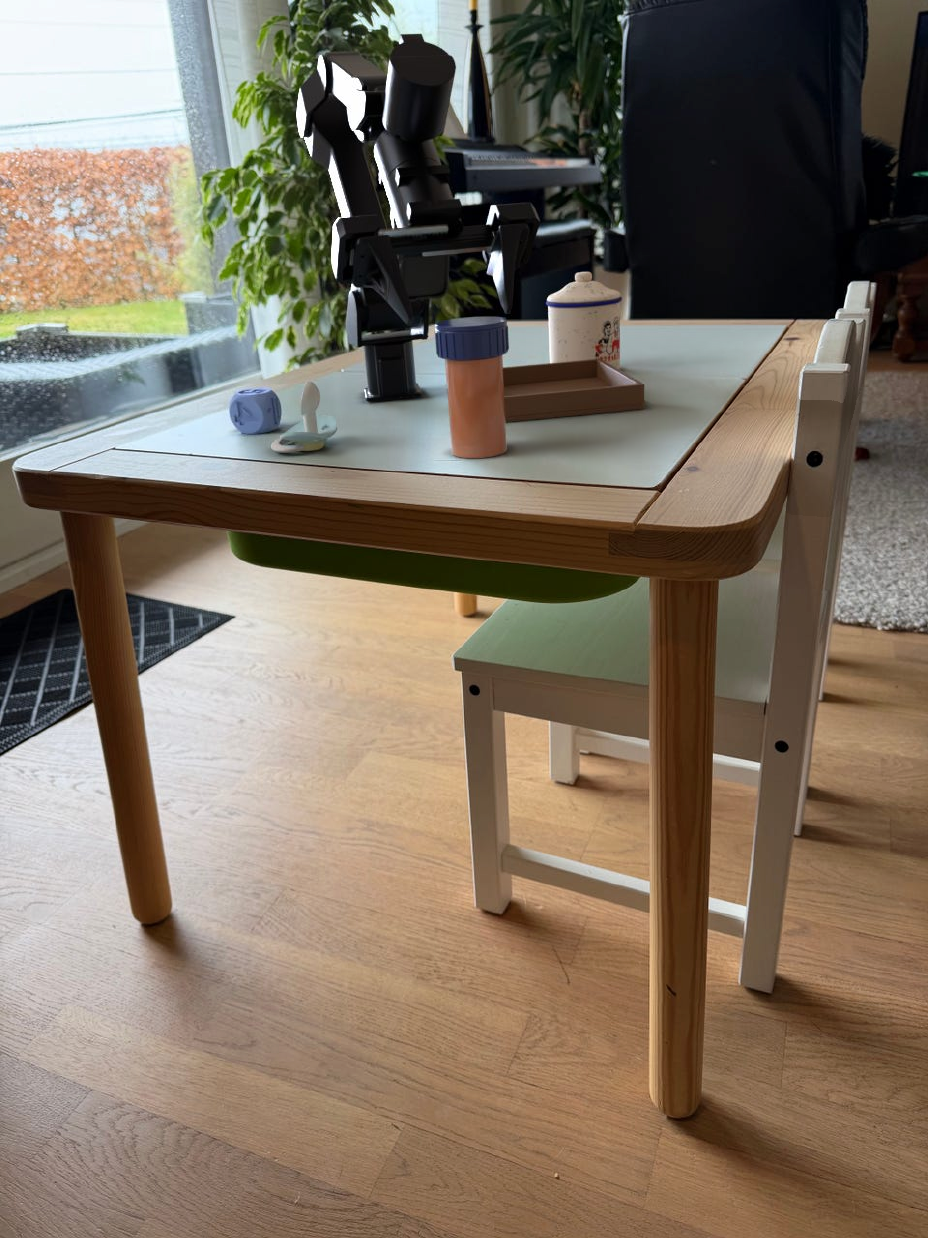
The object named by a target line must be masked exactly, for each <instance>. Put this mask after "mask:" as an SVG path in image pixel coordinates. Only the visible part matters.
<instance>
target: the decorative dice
mask: <svg viewBox="0 0 928 1238" xmlns="http://www.w3.org/2000/svg"><path fill="white" fill-rule="evenodd" d="M228 407H229V408H228V411H229V412H228V413H229V418H230V421H231V423H232V425H233V427H235V429H237V431H238V432H240V433H241V434H245V435H257V434H266V433H269V432H273V431H275V430H277V428H278V427H279V426H280V424H281V421H282V415H283V413H282V412H283V411H282V404H281V401H280V398H279V396H278V395H277V393H276V392H275V391H274V390H273V389H271V388H270V387H269V388H268V387H253V388H245V389H241V390H237V391H235V392H234V393H233V395H232V396H231V398H230V400H229V406H228Z"/></svg>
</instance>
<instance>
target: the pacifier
mask: <svg viewBox="0 0 928 1238" xmlns="http://www.w3.org/2000/svg"><path fill="white" fill-rule="evenodd" d="M320 402H321V393H320V390H319V387H318V386H317V384H316V383H314V382H312V381H310V380H308V381H306V383H305V384H304V386H303V389H302V393H301V396H300V406H299V407H300V415H301V416H302V420H300V421H299V422H297V423H296V424H295V425H293V426H292V427H291V428H289V429H288V430H287V431H285V432H284V433H283V434H281V435H280V436H279V438H277V439H276V440H274V441H273V442H272V443H271V445H270V448H271V450H272V451H274V452H276V453H285V454H286V453H295V452H310V451H318V450H320V449H322V448H323V447H324V446H325V441H327V440H328V439H329V438H331V437H333V436H334V435H335V434H336V433H337V431H338V421H337V420H336V419H335V417H333V416H332V415H328V414H317V413H316V411H317V409H318V408H319V406H320ZM292 442H295V444H289V445H288V443H292Z"/></svg>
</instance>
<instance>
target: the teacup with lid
mask: <svg viewBox="0 0 928 1238" xmlns="http://www.w3.org/2000/svg"><path fill="white" fill-rule="evenodd" d="M574 280H575V281H573V282H569V283H568V284H566V285H565V286H564V287H563V288H561V289H560V290H558V291H556V292H554V293H551V294H550V295H548V297H547V299H546V302H545V304H546V306H547V308H548V309H547V311H548V312H547V314H548V316H547V317H548V345H549V346H548V347H549V348H548V349H549V363H558V362H569V361H580V360H591V359H602V360H604V361H605V362H607V363H609V364H610V365H612V366H614V367H616V368H617V369H619V370H620V368H621V302H622V300H623V297H622V294H621V293H620V291H618V290H616V289H612V288H610V287H607V286H605V285H604V284H602V283H601V282H600V281H596V280H593V274H592V272H590V271H580V272H576V273H575V274H574Z"/></svg>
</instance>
